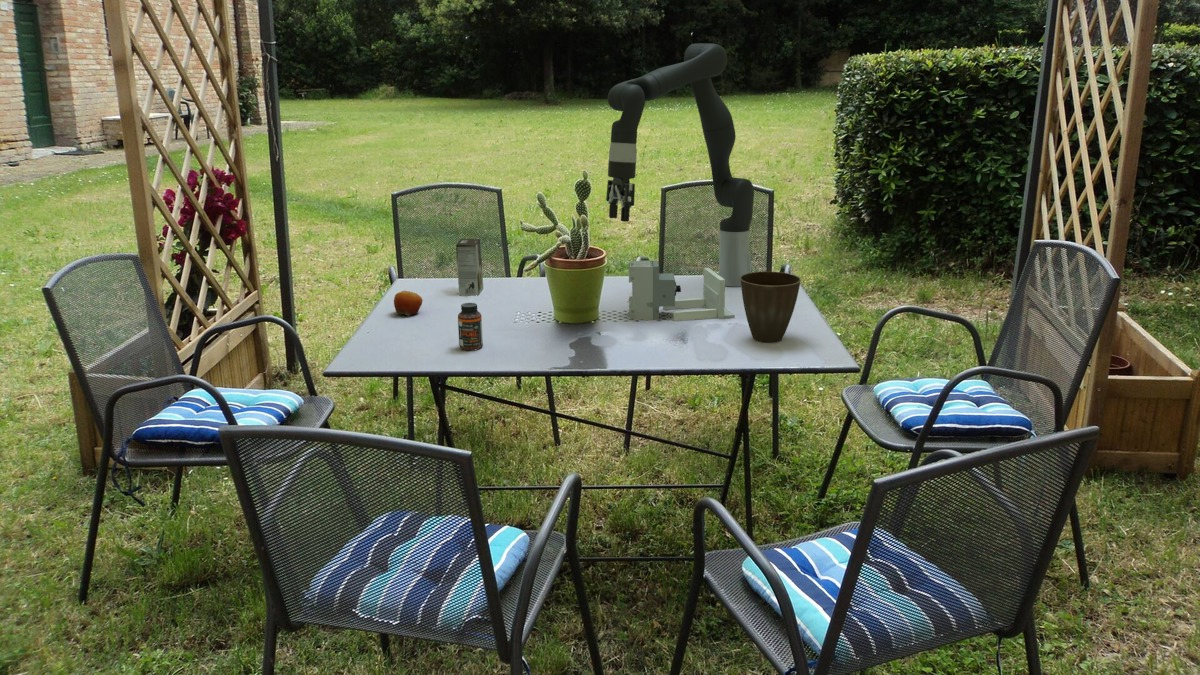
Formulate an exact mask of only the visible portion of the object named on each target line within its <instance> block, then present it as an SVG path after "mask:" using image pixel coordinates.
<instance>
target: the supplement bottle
mask: <svg viewBox="0 0 1200 675" xmlns="http://www.w3.org/2000/svg"><path fill="white" fill-rule="evenodd" d="M460 309H461V311H460V312H459V313H458V314H457V326H458V327H457V328H458V344H459V348H460V349H462V350H463V349H464V350H463V351H476V350H475V349H477V350H479V349H482V348H483V345H484V343H483V342H484V340H483V339H484V338H483V323H482V322H483V321H482V320H483V319H482V313H481V312H480V311H479V310H478V304H477V303H476V302H465V303H462V304H461V305H460Z"/></svg>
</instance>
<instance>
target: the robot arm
mask: <svg viewBox="0 0 1200 675" xmlns="http://www.w3.org/2000/svg"><path fill="white" fill-rule="evenodd" d="M727 63H728V56H727V52H726V50H725V48H724V47H722V45H720V44H716V43H710V42H709V43H705V42H704V43H702V42H701V43H692V44H690V45H689V46H688V47H687V48H686V49H685V52H684V57H683V62H678V63H674V64H671V65H667V66H663V67H659V68H656V69H653V70H652V71H650V72H648V73H646V74H644V75H642V76H640V77H637V78H632V79H630V80H625V81H622V82H619V83H617V84H614V86H612V87H611V88H610V90H609V91H608V94H607V102H608V105H609V107H610V108H611V109H613V110H614V111H616V112H617V111H618V112H621V115H620V118H619V119H618V120H615V121H614V122H613V123H612V124H611V132H610V144H609V150H608V164H607V167H608V168H607V176H608V177H609V178H612V179H608V180H607V184H606V185H607V186H606V198H605V200H606V202H608V204H609V209H608V210H609V211H608V212H609V213H608V218H610V219H617V218H618V208H619V207H618V203H619V201H620V206H621V207H620V210H621V211H620V221H621V222H623V223H624V222H625V223H628V222H629V221H630V212H631V210H630V209H632V207H634V206H635V194H636V193H635V192H636V190H635V189H636V184H635V183H633V182H632V183H631V182H630V181H631V180H632V179H635V178H636V167H637V153H638V152H637V140H638V139H637V138H638V129H639V125H640V122H641V119H642V116H643V112H644V109H645V105H646V102H649V101H653V100H656V99H658V98H660V97H663V96H664V95H666V94H668V93H670V92H672V91H675V90H677V89H679V88H682V87H684V86H686V85H689V84H690V86H691V90H692V93H693V95H694V99H695V103H696V107H697V109H698V110H697V111H698V115H699V119H700V124H701V129H702V133H703V136H704V142H705V144H706V149H707V154H708V160H709V163H710V169H711V170H710V171H711V176H712V177H711V178H712V184H713V192H714V196H715V199H716V202H717V203H718V204H719V205H720V206H721V207H725V208H732V209H731V210H732V211H731V215H730V216H729V217H726V218H723V219H721V220H720V221H719V246H718V247H719V250H718V252H719V253H718V254H719V255H718V275H719V276H721V277H722V278H723V279H725V287H741V279H740V277H741V276H742V275H744V274H747V273H752V271H751V270H752V269H751V268H752V267H751V266H752V265H751V264H752V255H751V253H750V233H751V232H750V230H751V223H752V221H753V214H754V213H753V211H754V199H755V188H754V185H753V183H752V181H751V180H750V179H747V178H743V177H734V176H732V172H731V166H730V157H731V154H732V151H733V149H734V145H735V142H736V130H735V124H734V120H733V117H732V114H731V111H730V110H729V108H728V107H727V105H726V104H725V103H724V101H723V100H722V98H721V96H720V95H719V94H718V93H717V91H716V89H715V87H714V83H713V82H712V78H714V77H718V76H720V75H721V74H722V73H723V72H724V70H725V69H726V67H727Z"/></svg>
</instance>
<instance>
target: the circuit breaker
mask: <svg viewBox="0 0 1200 675" xmlns="http://www.w3.org/2000/svg"><path fill="white" fill-rule="evenodd" d="M628 283H631V286H632V287H631V289H632V290H631V292H632V293H631V294H632V296H631V295H630V296H628V317H629V318H628V320H629V321H631V320H634V321H635V320H636V321H642V320H643V321H645V320H646V321H651V320H653V321H654V320H657V321H658V320H660V307H663V306H675V300H676V296H677V293H681V292H682V288H681V285H679V284H678V285H677V281H676V278H675V274H674V273H672V272H671V273H660V265H659V260H629V264H628Z"/></svg>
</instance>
